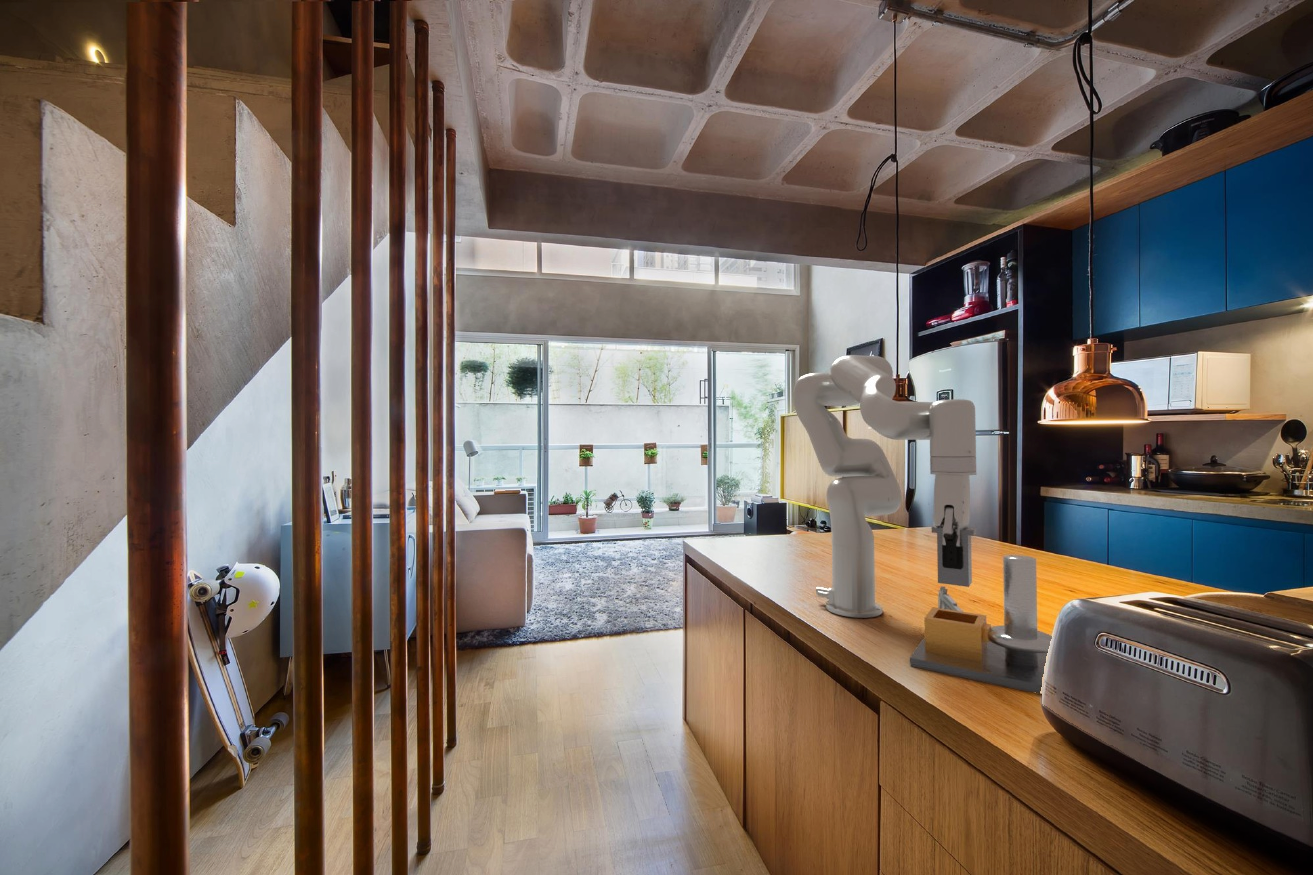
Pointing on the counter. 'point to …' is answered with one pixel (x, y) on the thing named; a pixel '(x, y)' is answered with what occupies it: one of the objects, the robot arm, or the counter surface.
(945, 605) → the caliper
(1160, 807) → the counter surface
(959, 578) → the tall grey pillar block
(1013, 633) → the post
